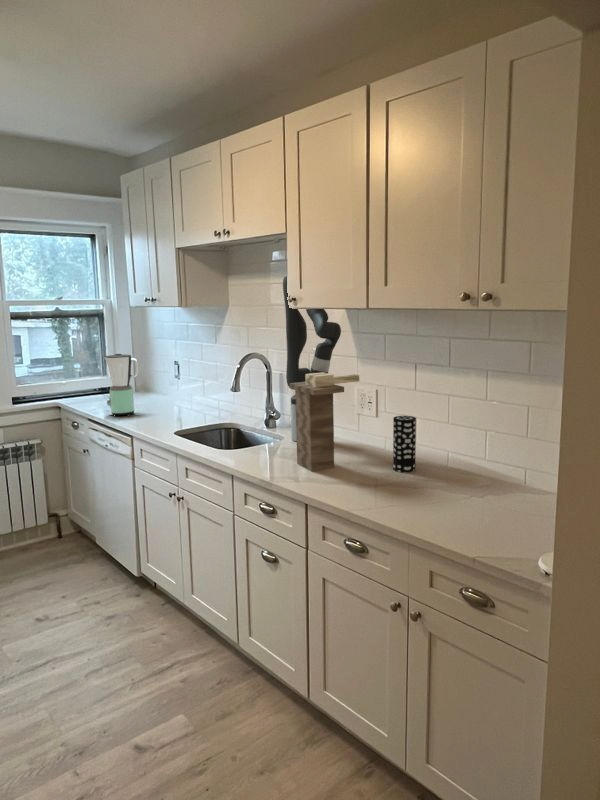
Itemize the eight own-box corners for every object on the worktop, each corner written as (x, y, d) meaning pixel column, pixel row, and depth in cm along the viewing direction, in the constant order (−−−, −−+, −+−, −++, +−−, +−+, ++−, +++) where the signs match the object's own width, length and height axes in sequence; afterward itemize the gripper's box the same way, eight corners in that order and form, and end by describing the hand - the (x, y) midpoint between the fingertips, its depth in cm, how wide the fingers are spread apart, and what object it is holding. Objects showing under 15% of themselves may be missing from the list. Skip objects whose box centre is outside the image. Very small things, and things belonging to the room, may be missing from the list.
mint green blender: (105, 417, 338) (100, 355, 332) (110, 412, 352) (105, 353, 345) (139, 416, 340) (135, 354, 334) (143, 411, 353) (139, 352, 347)
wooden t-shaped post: (291, 461, 241) (289, 383, 236) (319, 456, 247) (318, 380, 241) (315, 474, 224) (313, 390, 218) (345, 469, 230) (344, 386, 224)
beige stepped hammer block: (305, 384, 232) (305, 374, 231) (351, 379, 241) (351, 369, 241) (315, 386, 225) (315, 376, 224) (362, 382, 234) (362, 371, 234)
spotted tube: (409, 473, 222) (409, 421, 218) (389, 470, 227) (389, 418, 223) (419, 468, 228) (419, 417, 225) (399, 465, 233) (399, 414, 230)
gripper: (324, 365, 259) (316, 400, 264) (302, 366, 249) (294, 402, 253) (337, 370, 255) (328, 406, 259) (315, 371, 244) (307, 408, 248)
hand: (311, 404), depth 256 cm, fingers open, 8 cm apart
